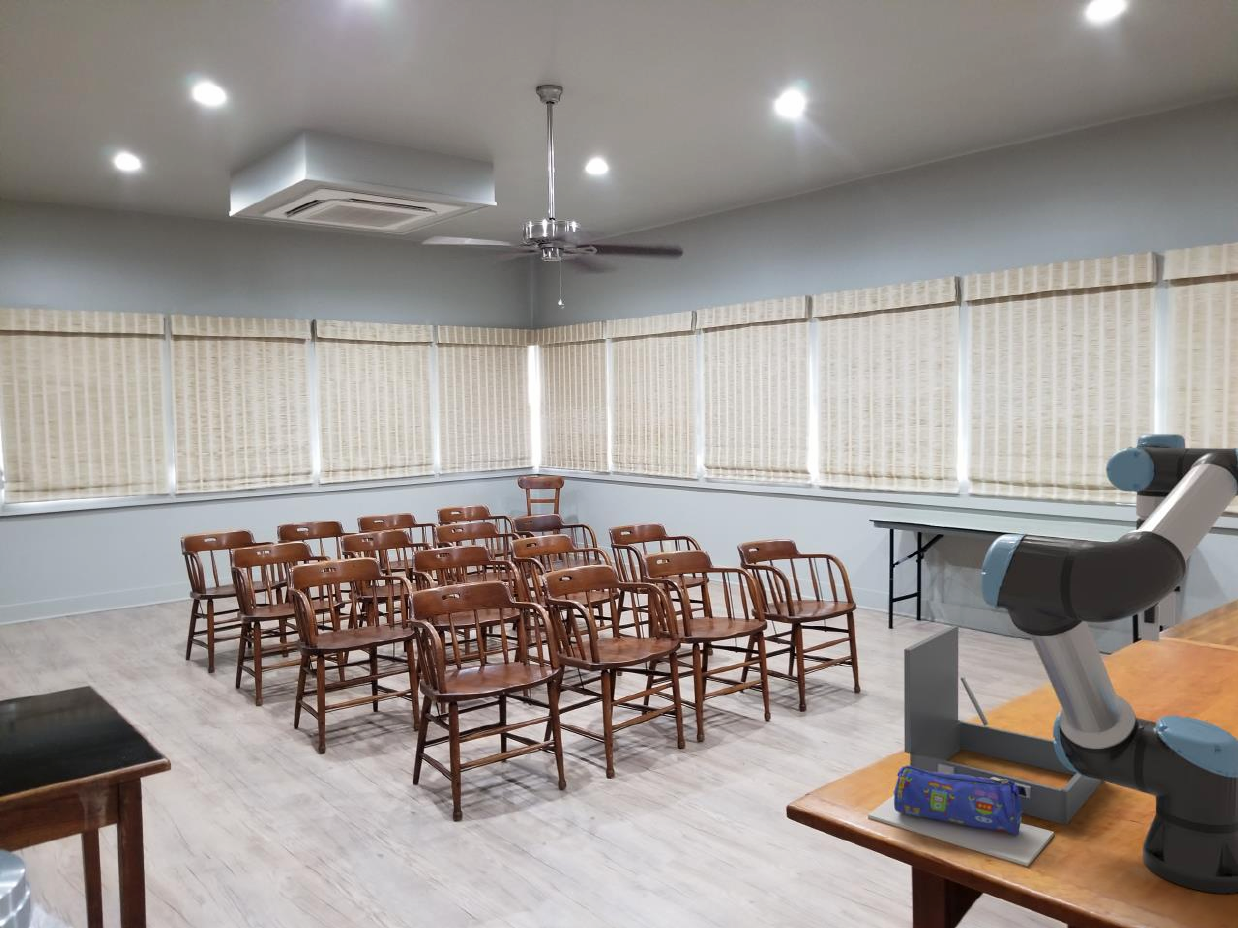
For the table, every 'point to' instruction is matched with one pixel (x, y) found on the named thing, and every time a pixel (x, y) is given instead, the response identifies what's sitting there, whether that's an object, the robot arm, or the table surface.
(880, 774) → the table surface
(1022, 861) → the grey mat
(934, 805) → the pencil case
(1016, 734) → the case
